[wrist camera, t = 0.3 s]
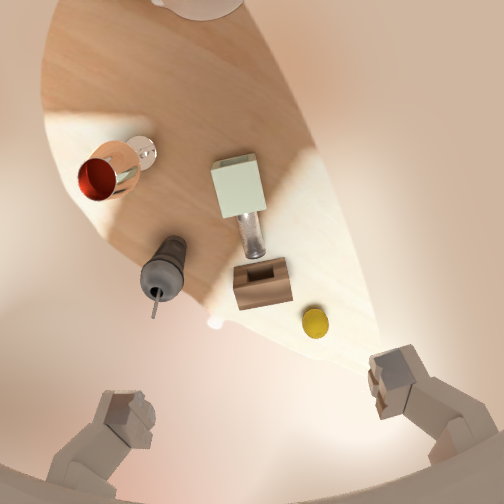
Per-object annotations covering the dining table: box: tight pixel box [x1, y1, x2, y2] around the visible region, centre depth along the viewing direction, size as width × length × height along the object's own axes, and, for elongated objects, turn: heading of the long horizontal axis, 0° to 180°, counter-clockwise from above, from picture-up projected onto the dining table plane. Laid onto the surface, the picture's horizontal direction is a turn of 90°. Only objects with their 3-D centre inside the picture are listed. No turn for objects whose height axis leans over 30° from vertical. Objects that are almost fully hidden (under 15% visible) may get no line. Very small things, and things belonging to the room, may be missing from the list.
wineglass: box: [78, 136, 156, 201], centre depth 42 cm, size 8×8×18 cm
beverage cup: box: [140, 236, 187, 319], centre depth 50 cm, size 7×7×20 cm
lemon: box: [302, 309, 329, 339], centre depth 63 cm, size 6×6×8 cm
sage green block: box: [211, 153, 267, 218], centre depth 50 cm, size 8×7×7 cm
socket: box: [233, 257, 293, 310], centre depth 59 cm, size 5×10×8 cm, turn 102°
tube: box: [236, 211, 266, 259], centre depth 52 cm, size 16×4×4 cm, turn 12°
